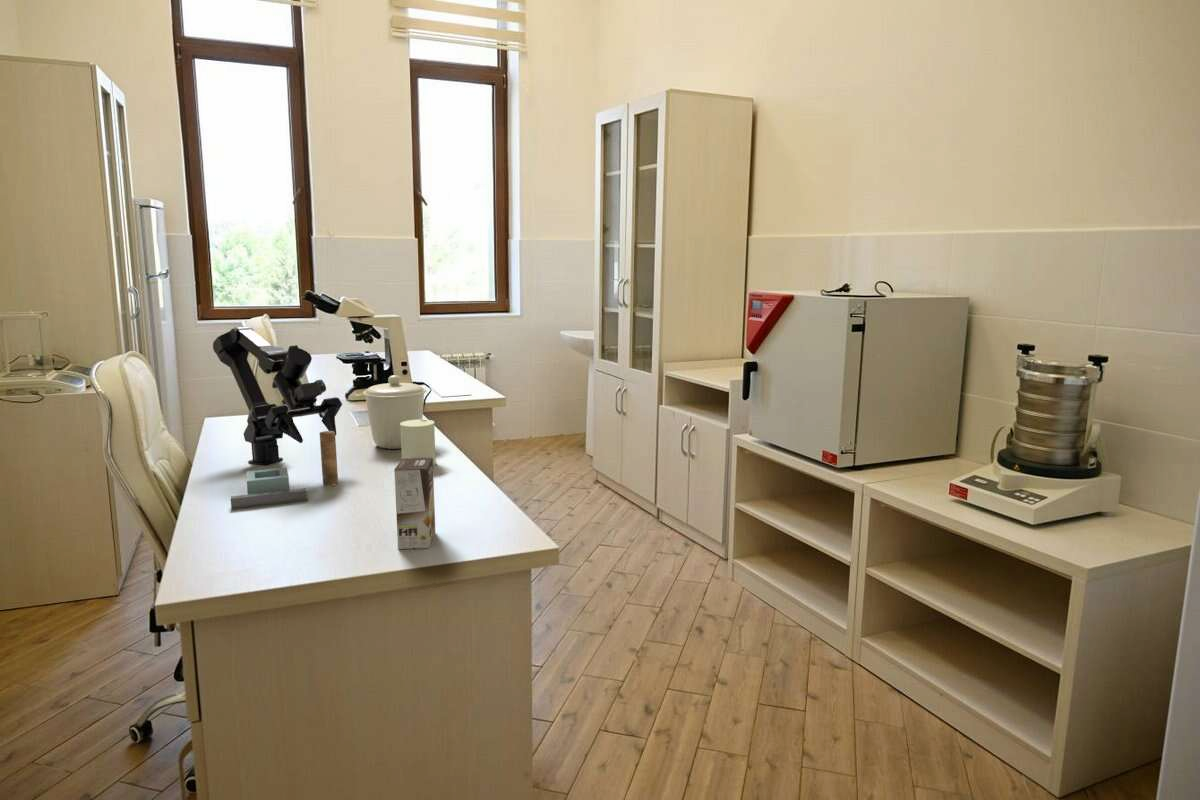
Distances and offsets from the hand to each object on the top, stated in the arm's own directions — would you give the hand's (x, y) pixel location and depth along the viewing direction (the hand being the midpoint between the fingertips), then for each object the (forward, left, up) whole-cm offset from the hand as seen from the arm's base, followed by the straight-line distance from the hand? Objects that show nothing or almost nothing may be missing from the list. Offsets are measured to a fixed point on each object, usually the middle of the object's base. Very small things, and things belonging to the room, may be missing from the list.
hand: (318, 438), depth 199 cm
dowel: (+4, -1, -11) cm, 12 cm away
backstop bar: (+3, -19, -11) cm, 22 cm away
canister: (-6, +38, -11) cm, 40 cm away
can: (+13, +23, -11) cm, 28 cm away
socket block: (-3, -14, -11) cm, 18 cm away
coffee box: (+48, -25, -11) cm, 55 cm away
